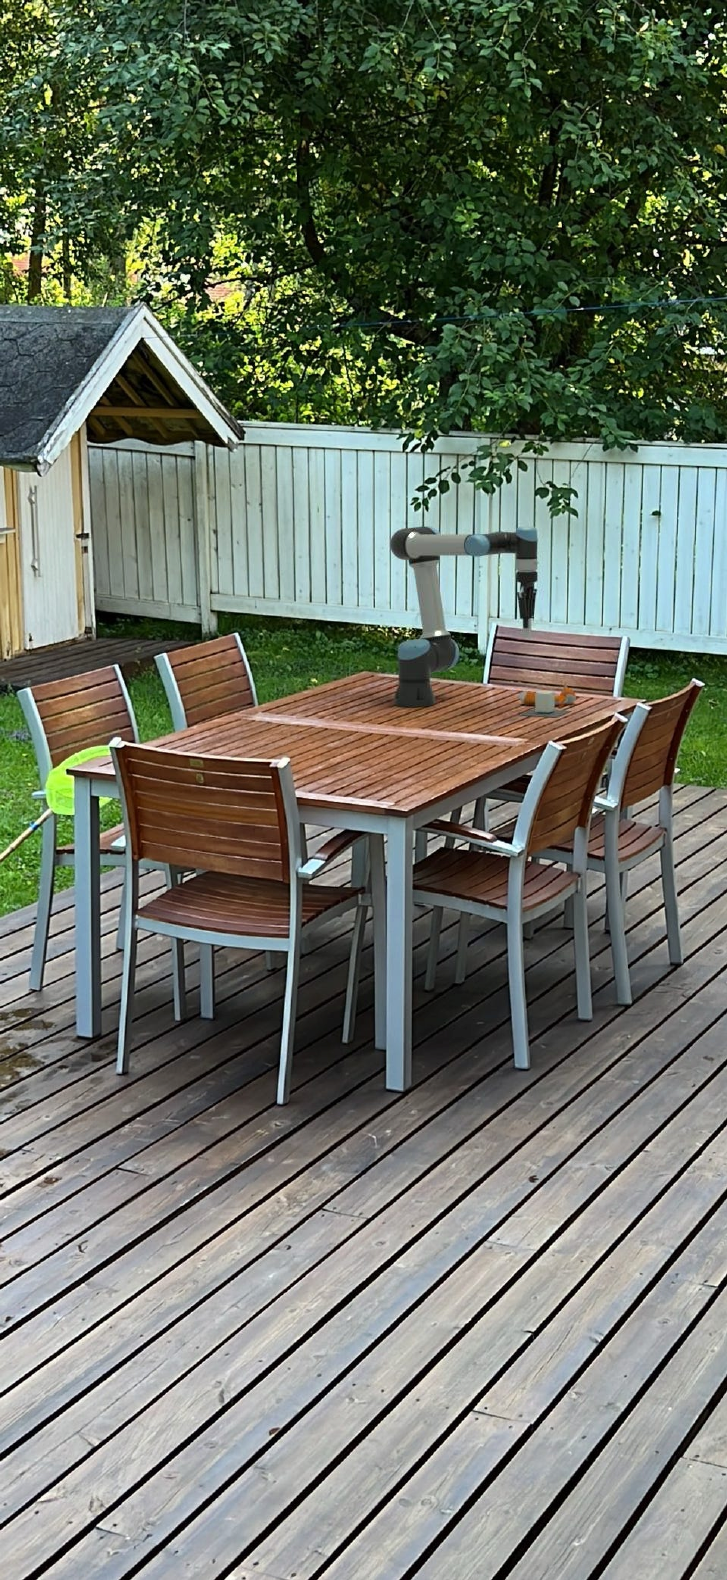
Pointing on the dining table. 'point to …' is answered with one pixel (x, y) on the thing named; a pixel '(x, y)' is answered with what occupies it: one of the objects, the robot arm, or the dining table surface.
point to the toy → (564, 699)
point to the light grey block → (544, 701)
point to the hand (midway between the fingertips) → (527, 636)
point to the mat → (552, 714)
